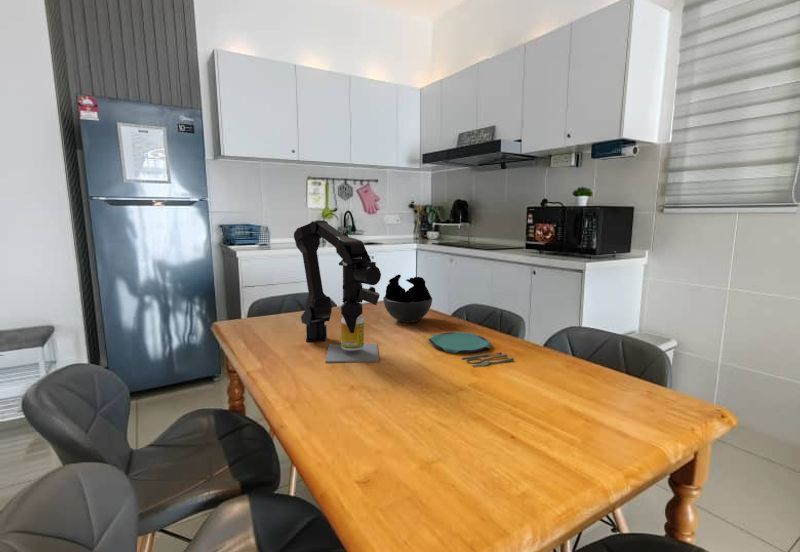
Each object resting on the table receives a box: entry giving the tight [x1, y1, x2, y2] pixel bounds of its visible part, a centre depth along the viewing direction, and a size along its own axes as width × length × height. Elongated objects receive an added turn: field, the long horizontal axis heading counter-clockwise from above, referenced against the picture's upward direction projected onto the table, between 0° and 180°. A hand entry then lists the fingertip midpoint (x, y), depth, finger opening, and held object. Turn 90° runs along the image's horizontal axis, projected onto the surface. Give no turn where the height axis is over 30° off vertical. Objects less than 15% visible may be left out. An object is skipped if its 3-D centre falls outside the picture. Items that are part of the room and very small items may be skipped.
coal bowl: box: [382, 274, 433, 323], centre depth 173 cm, size 20×20×19 cm
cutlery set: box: [428, 331, 515, 368], centre depth 139 cm, size 20×30×2 cm, turn 22°
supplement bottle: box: [340, 315, 365, 351], centre depth 134 cm, size 7×7×13 cm
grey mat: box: [324, 343, 380, 364], centre depth 135 cm, size 16×16×1 cm
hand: (352, 329), depth 134 cm, fingers open, 7 cm apart
